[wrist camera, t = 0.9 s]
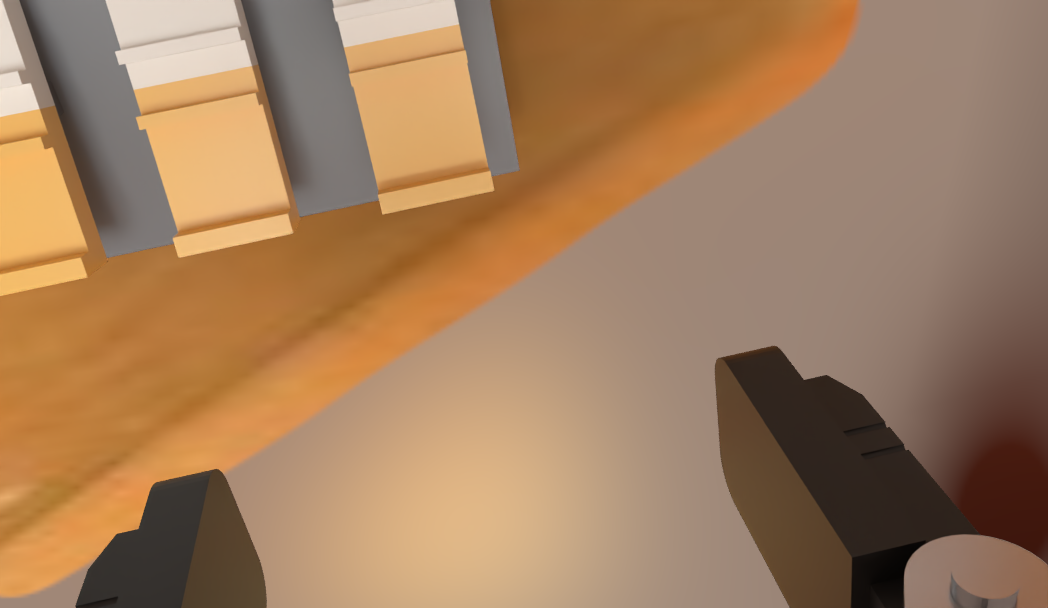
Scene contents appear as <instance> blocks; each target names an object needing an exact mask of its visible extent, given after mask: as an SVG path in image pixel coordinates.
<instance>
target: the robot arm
mask: <svg viewBox="0 0 1048 608" xmlns="http://www.w3.org/2000/svg"><path fill="white" fill-rule="evenodd" d="M715 383H716V396H717V397H716V398H717V412H718V426H719V441H720V455H721V462H722V467H723V472H724V475H725V479H726V483H727V486H728V489H729V492H730V494H731V497H732V499H733V501H734V503H735V505H736V507H737V509H738V511H739V513H740V515H741V516H742V519H743V520H744V522H745V524H746V526H747V528H748V530H749V532H750V533H751V535H752V537H753V539H754V541H755V543H756V545H757V547H758V548H759V551H760V552H761V554H762V556H763V558H764V560H765V562H766V564H767V566H768V567H769V569H770V571H771V573H772V575H773V577H774V579H775V581H776V582H777V584H778V586H779V588H780V590H781V592H782V594H783V596H784V598H785V599H786V601H787V603H788V605H789V607H790V608H1048V565H1047V564H1046V563H1045V562H1043V561H1042V560H1041V559H1040V558H1038V557H1037V556H1035V555H1034V554H1032V553H1031V552H1029V551H1027V550H1025V549H1023V548H1021V547H1019V546H1017V545H1014V544H1012V543H1009V542H1007V541H1004V540H1000V539H996V538H992V537H987V536H981V535H980V534H979V533H978V532H977V531H976V529H975V528H974V527H973V526H972V525H971V523H970V522H969V521H968V520H967V519H966V517H965V516H964V515H963V514H962V513H961V511H960V510H959V509H958V508H957V507H956V506H955V504H954V503H953V502H952V501H951V500H950V498H949V497H948V496H947V495H946V494H945V493H944V491H943V490H942V489H941V488H940V487H939V485H938V484H937V483H936V482H935V481H934V479H933V478H932V477H931V476H930V475H929V473H927V471H926V470H925V469H924V468H923V466H922V465H921V464H920V463H919V462H918V461H917V459H916V458H915V457H914V456H913V454H912V453H911V452H910V451H909V450H905V448H904V444H903V443H902V441H901V440H900V439H899V438H898V437H897V435H896V434H895V433H894V432H893V431H892V429H891V428H890V427H888V428H887V427H886V425H885V421H884V420H883V419H882V418H881V417H880V415H879V414H878V413H877V412H876V411H875V409H874V408H873V407H872V406H871V405H870V403H869V402H868V401H867V400H866V399H865V397H864V396H863V395H862V394H860V393H858V392H856V391H855V390H853V389H851V388H849V387H847V386H845V385H844V384H842V383H840V382H838V381H837V380H835V379H833V378H831V377H829V376H827V375H825V376H820V377H816V378H811V379H807V380H803V378H802V377H801V376H800V374H799V373H798V372H797V370H796V369H795V368H794V366H793V365H792V364H791V362H790V361H789V360H788V359H787V357H786V356H785V355H784V353H783V352H782V351H781V350H780V349H779V348H778V347H777V346H771V347H766V348H762V349H757V350H753V351H749V352H744V353H739V354H735V355H730V356H726V357H722V358H718V359H717V360H716V364H715ZM266 603H267V600H266V587H265V580H264V575H263V570H262V567H261V563H260V560H259V557H258V555H257V552H256V550H255V547H254V545H253V542H252V540H251V538H250V535H249V533H248V530H247V528H246V525H245V523H244V521H243V518H242V516H241V513H240V511H239V509H238V506H237V504H236V501H235V499H234V496H233V494H232V491H231V489H230V487H229V484H228V482H227V480H226V478H225V476H224V475H223V473H222V472H221V471H220V470H218V469H214V470H210V471H205V472H201V473H196V474H192V475H187V476H183V477H178V478H174V479H169V480H165V481H160V482H156V483H155V484H154V485H153V486H152V488H151V490H150V493H149V496H148V499H147V503H146V506H145V509H144V513H143V516H142V519H141V523H140V526H139V529H137V530H133V531H128V532H124V533H119V534H116V536H115V537H114V538H113V539H112V541H111V542H110V543H109V544H108V546H107V547H106V548H105V549H104V551H103V552H102V553H101V554H100V555H99V557H98V558H97V559H96V560H95V562H94V563H93V564H92V565H91V567H90V568H89V569H88V571H87V575H86V578H85V580H84V583H83V586H82V589H81V591H80V594H79V597H78V600H77V603H76V608H266V606H267V605H266Z"/></svg>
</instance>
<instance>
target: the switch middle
mask: <svg viewBox="0 0 1048 608" xmlns="http://www.w3.org/2000/svg"><path fill="white" fill-rule="evenodd" d="M106 4H107V7H108V10H109V13H110V16H111V20H112V23H113V26H114V29H115V32H116V36H117V39H118V42H119V45H120V48H121V50H120V51H115V54H116V57H117V60H118V63H119V65H122V64H126V67H127V71H128V74H129V77H130V80H131V83H132V87H133V90H134V93H135V96H136V99H137V103H138V106H139V109H140V112H141V116H138V117H136V120H137V123H138V126H139V130H143V129H146V131H147V134H148V138H149V141H150V144H151V147H152V150H153V154H154V157H155V160H156V163H157V166H158V170H159V173H160V176H161V179H162V182H163V186H164V189H165V192H166V195H167V198H168V202H169V205H170V208H171V211H172V214H173V217H174V221H175V224H176V227H177V230H178V233H177V234H176V235H175V236H174V237H173V242H174V245H175V248H176V251H177V254H178V257H179V258H180V257H185V256H189V255H194V254H199V253H204V252H208V251H213V250H218V249H222V248H227V247H232V246H237V245H241V244H246V243H251V242H255V241H260V240H265V239H269V238H274V237H279V236H284V235H288V234H293V233H294V231H295V230H296V228H297V226H298V224H299V222H300V221H301V220H300V216H299V213H298V209H297V205H296V202H295V198H294V194H293V190H292V187H291V183H290V179H289V176H288V172H287V168H286V165H285V161H284V157H283V154H282V150H281V146H280V142H279V139H278V135H277V131H276V128H275V124H274V120H273V117H272V113H271V109H270V106H269V102H268V98H267V94H266V91H265V87H264V83H263V80H262V76H261V72H260V69H259V65H258V61H257V58H256V54H255V50H254V46H253V43H252V39H251V35H250V32H249V28H248V24H247V21H246V17H245V13H244V10H243V6H242V2H241V0H106Z"/></svg>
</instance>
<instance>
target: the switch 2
mask: <svg viewBox="0 0 1048 608" xmlns="http://www.w3.org/2000/svg"><path fill="white" fill-rule="evenodd" d="M332 1H333V5H334V8H333V11H334V15H335V20H336V22H338V25H339V30H340V34H341V38H342V42H343V46H344V50H345V54H346V59H347V63H348V67H349V71H350V73H349V77H350V81H351V85H352V87H354V92H355V96H356V100H357V104H358V108H359V112H360V116H361V120H362V125H363V129H364V133H365V137H366V141H367V145H368V149H369V153H370V158H371V162H372V166H373V170H374V174H375V178H376V182H377V186H378V198H379V202H380V206H381V210H382V214H387V213H392V212H397V211H402V210H406V209H411V208H416V207H420V206H425V205H430V204H434V203H439V202H444V201H449V200H453V199H458V198H463V197H467V196H472V195H477V194H482V193H486V192H491V191H494V186H493V181H492V176H491V172H490V169H489V168H488V163H487V158H486V153H485V148H484V143H483V139H482V134H481V129H480V124H479V119H478V114H477V109H476V104H475V99H474V94H473V90H472V85H471V80H470V75H469V70H468V65H467V63H468V60H467V55H466V50H464V45H463V41H462V36H461V31H460V26H459V21H458V16H457V11H456V6H455V1H454V0H332Z"/></svg>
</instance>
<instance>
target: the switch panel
mask: <svg viewBox="0 0 1048 608" xmlns="http://www.w3.org/2000/svg"><path fill="white" fill-rule="evenodd" d="M19 1H20V4H21V7H22V10H23V13H24V16H25V19H26V22H27V25H28V27H29V30H30V33H31V36H32V39H33V42H34V45H35V48H36V51H37V54H38V57H39V60H40V63H41V66H42V69H43V72H44V75H45V77H46V80H47V83H48V86H49V89H50V92H51V95H52V98H53V101H54V104H55V107H56V110H57V113H58V116H59V119H60V122H61V124H62V127H63V130H64V133H65V136H66V139H67V142H68V145H69V148H70V151H71V154H72V157H73V160H74V163H75V166H76V169H77V171H78V174H79V177H80V180H81V183H82V186H83V189H84V192H85V195H86V198H87V201H88V204H89V207H90V210H91V213H92V216H93V218H94V221H95V224H96V227H97V230H98V233H99V236H100V239H101V242H102V245H103V248H104V251H105V254H106V257H107V258H109V257H113V256H118V255H123V254H127V253H132V252H137V251H142V250H146V249H151V248H156V247H161V246H165V245H170V244H174V242H173V237H174V236H175V235H176V234H177V233H178V230H177V227H176V224H175V221H174V217H173V214H172V211H171V208H170V205H169V202H168V198H167V195H166V192H165V189H164V186H163V182H162V179H161V176H160V173H159V170H158V166H157V163H156V160H155V157H154V154H153V150H152V147H151V144H150V141H149V138H148V134H147V131H146V129H143V130H139V126H138V123H137V120H136V117H138V116H141V112H140V109H139V106H138V103H137V99H136V96H135V93H134V90H133V87H132V83H131V80H130V77H129V74H128V71H127V67H126V64H122V65H119V63H118V60H117V57H116V54H115V51H120V50H121V48H120V45H119V42H118V39H117V36H116V32H115V29H114V26H113V23H112V20H111V16H110V13H109V10H108V7H107V4H106V0H19ZM454 1H455V6H456V11H457V16H458V21H459V26H460V31H461V36H462V41H463V45H464V50H466V55H467V60H468V63H467V65H468V70H469V75H470V80H471V85H472V90H473V94H474V99H475V104H476V109H477V114H478V119H479V124H480V129H481V134H482V139H483V143H484V148H485V153H486V158H487V163H488V168H489V169H490V172H491V176H496V175H501V174H505V173H510V172H515V171H520V170H519V164H518V158H517V152H516V147H515V141H514V135H513V130H512V124H511V118H510V112H509V107H508V101H507V95H506V89H505V84H504V78H503V72H502V67H501V61H500V55H499V49H498V44H497V38H496V32H495V27H494V21H493V15H492V9H491V4H490V0H454ZM241 2H242V6H243V10H244V13H245V17H246V21H247V24H248V28H249V32H250V35H251V39H252V43H253V46H254V50H255V54H256V58H257V61H258V65H259V69H260V72H261V76H262V80H263V83H264V87H265V91H266V94H267V98H268V102H269V106H270V109H271V113H272V117H273V120H274V124H275V128H276V131H277V135H278V139H279V142H280V146H281V150H282V154H283V157H284V161H285V165H286V168H287V172H288V176H289V179H290V183H291V187H292V190H293V194H294V198H295V202H296V205H297V209H298V213H299V216H300V217H302V216H307V215H312V214H316V213H321V212H326V211H331V210H335V209H340V208H345V207H350V206H354V205H359V204H364V203H368V202H373V201H378V200H379V198H378V186H377V182H376V178H375V174H374V170H373V166H372V162H371V158H370V153H369V149H368V145H367V141H366V137H365V133H364V129H363V125H362V120H361V116H360V112H359V108H358V104H357V100H356V96H355V92H354V87H352V85H351V81H350V77H349V73H350V71H349V67H348V63H347V59H346V54H345V50H344V46H343V42H342V38H341V34H340V30H339V25H338V22H336V20H335V15H334V11H333V8H334V5H333V1H332V0H241Z"/></svg>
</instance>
